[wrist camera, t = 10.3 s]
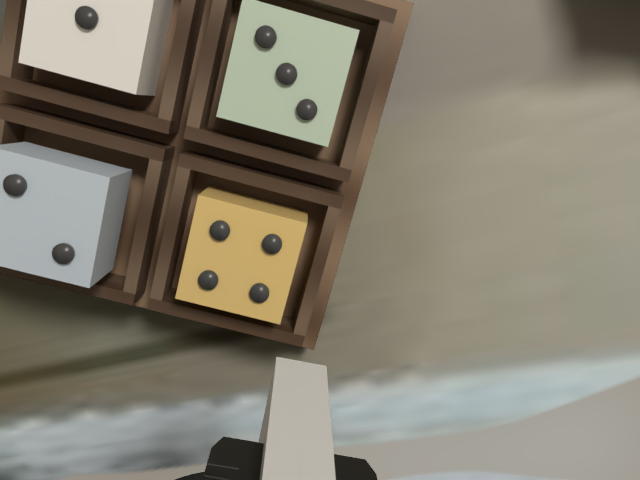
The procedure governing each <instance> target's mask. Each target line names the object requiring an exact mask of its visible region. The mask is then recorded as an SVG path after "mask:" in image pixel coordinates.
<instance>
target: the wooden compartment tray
mask: <svg viewBox="0 0 640 480" xmlns="http://www.w3.org/2000/svg"><path fill="white" fill-rule="evenodd" d="M257 1H260V2H264V3H267V4H271V5H274V6H277V7H281V8H284V9H288V10H291V11H295V12H298V13H302V14H305V15H309V16H312V17H315V18H319V19H322V20H326V21H329V22H333V23H336V24H340V25H343V26H347V27H350V28H353V29H357V30H360V31H359V34H358V38H357V42H356V45H355V49H354V53H353V57H352V60H351V64H350V68H349V71H348V75H347V79H346V82H345V86H344V90H343V94H342V97H341V101H340V105H339V108H338V112H337V116H336V119H335V123H334V127H333V130H332V134H331V138H330V142H329V145H328V147H326V146H322V145H319V144H315V143H311V142H308V141H304V140H300V139H297V138H293V137H289V136H286V135H282V134H278V133H275V132H271V131H267V130H264V129H260V128H256V127H253V126H249V125H245V124H242V123H238V122H234V121H231V120H227V119H223V118H220V117H216V115H217V111H218V106H219V102H220V97H221V93H222V88H223V84H224V79H225V75H226V70H227V66H228V61H229V57H230V52H231V48H232V43H233V39H234V34H235V30H236V26H237V21H238V17H239V12H240V8H241V3H242V0H174V3H173V8H172V13H171V18H170V23H169V28H168V33H167V38H166V43H165V48H164V53H163V58H162V63H161V68H160V74H159V79H158V84H157V89H156V94H155V96H149V95H135V94H132V93H128V92H124V91H121V90H117V89H114V88H110V87H106V86H103V85H99V84H95V83H92V82H88V81H84V80H81V79H77V78H73V77H70V76H66V75H62V74H59V73H55V72H51V71H48V70H44V69H40V68H37V67H33V66H29V65H26V64H22V63H18V61H19V54H20V47H21V40H22V33H23V26H24V19H25V12H26V5H27V0H7V2H6V10H5V17H4V25H3V32H2V39H1V47H0V145H2V144H10V143H18V142H29V143H32V144H36V145H40V146H44V147H48V148H51V149H55V150H59V151H63V152H67V153H70V154H74V155H78V156H82V157H86V158H89V159H93V160H97V161H101V162H105V163H108V164H112V165H116V166H120V167H124V168H127V169H131V170H132V174H131V179H130V185H129V190H128V195H127V200H126V205H125V210H124V215H123V221H122V226H121V231H120V236H119V241H118V246H117V251H116V257H115V262H114V267H113V269H112V270H111V271H110V272H109V273H107V274H106V275H105V276H104V277H103V278H101V279H100V280H99V281H98V282H96V283H95V284H94V285H93V286H92V287H90V288H86V287H82V286H78V285H74V284H70V283H66V282H62V281H58V280H54V279H50V278H46V277H42V276H38V275H34V274H30V273H26V272H21V271H17V270H13V269H9V268H5V267H1V266H0V273H2V274H6V275H10V276H14V277H18V278H22V279H26V280H30V281H35V282H39V283H43V284H47V285H51V286H55V287H59V288H63V289H67V290H71V291H75V292H79V293H83V294H87V295H91V296H96V297H100V298H104V299H108V300H112V301H116V302H120V303H124V304H128V305H132V306H133V305H134V306H138V307H142V308H146V309H148V310H153V311H157V312H161V313H165V314H169V315H173V316H177V317H181V318H185V319H189V320H193V321H197V322H201V323H205V324H210V325H214V326H218V327H222V328H226V329H230V330H234V331H238V332H242V333H246V334H250V335H254V336H258V337H262V338H267V339H271V340H275V341H279V342H283V343H287V344H291V345H295V346H299V347H305V348H309V349H313V350H314V348H315V344H316V341H317V337H318V334H319V330H320V327H321V324H322V320H323V317H324V313H325V310H326V306H327V303H328V299H329V296H330V292H331V289H332V285H333V282H334V278H335V275H336V272H337V268H338V265H339V261H340V258H341V254H342V251H343V247H344V244H345V240H346V237H347V233H348V230H349V226H350V223H351V220H352V216H353V213H354V209H355V206H356V202H357V199H358V195H359V192H360V188H361V185H362V181H363V178H364V174H365V171H366V168H367V164H368V161H369V157H370V154H371V150H372V147H373V143H374V140H375V136H376V133H377V129H378V126H379V122H380V119H381V116H382V112H383V109H384V105H385V102H386V98H387V95H388V91H389V88H390V84H391V81H392V77H393V74H394V70H395V67H396V63H397V60H398V57H399V53H400V50H401V46H402V43H403V39H404V36H405V32H406V29H407V25H408V22H409V18H410V15H411V11H412V8H413V5H414V3H412V2H408V1H405V0H257ZM209 186H214V187H218V188H221V189H225V190H229V191H233V192H237V193H240V194H244V195H248V196H252V197H256V198H259V199H263V200H267V201H271V202H275V203H278V204H282V205H286V206H290V207H293V208H297V209H301V210H305V211H308V223H307V227H306V231H305V234H304V238H303V242H302V246H301V249H300V253H299V257H298V260H297V264H296V268H295V271H294V275H293V279H292V282H291V286H290V290H289V294H288V297H287V301H286V305H285V308H284V312H283V316H282V319H281V323H280V324H276V323H272V322H268V321H264V320H260V319H256V318H252V317H248V316H244V315H240V314H235V313H231V312H227V311H223V310H219V309H215V308H211V307H207V306H203V305H199V304H195V303H191V302H187V301H183V300H179V299H175V296H176V292H177V287H178V283H179V278H180V274H181V269H182V265H183V260H184V256H185V251H186V247H187V243H188V238H189V234H190V229H191V225H192V220H193V216H194V211H195V207H196V202H197V198H198V195H199V194H200V193H201V192H202V191H204V190H205V189H206V188H208V187H209Z"/></svg>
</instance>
